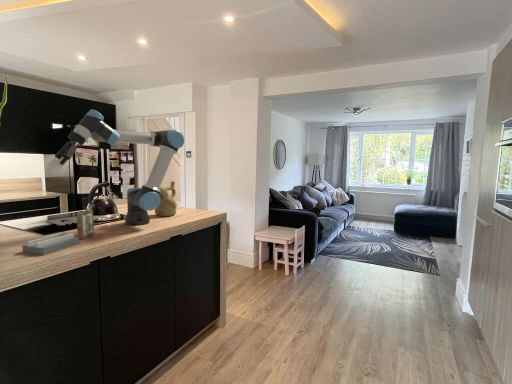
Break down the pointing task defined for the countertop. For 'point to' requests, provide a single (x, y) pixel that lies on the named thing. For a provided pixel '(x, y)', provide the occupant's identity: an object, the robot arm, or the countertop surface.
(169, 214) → the ceramic vessel
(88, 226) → the walnut photo frame
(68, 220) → the play button award
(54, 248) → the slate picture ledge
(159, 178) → the robot arm
